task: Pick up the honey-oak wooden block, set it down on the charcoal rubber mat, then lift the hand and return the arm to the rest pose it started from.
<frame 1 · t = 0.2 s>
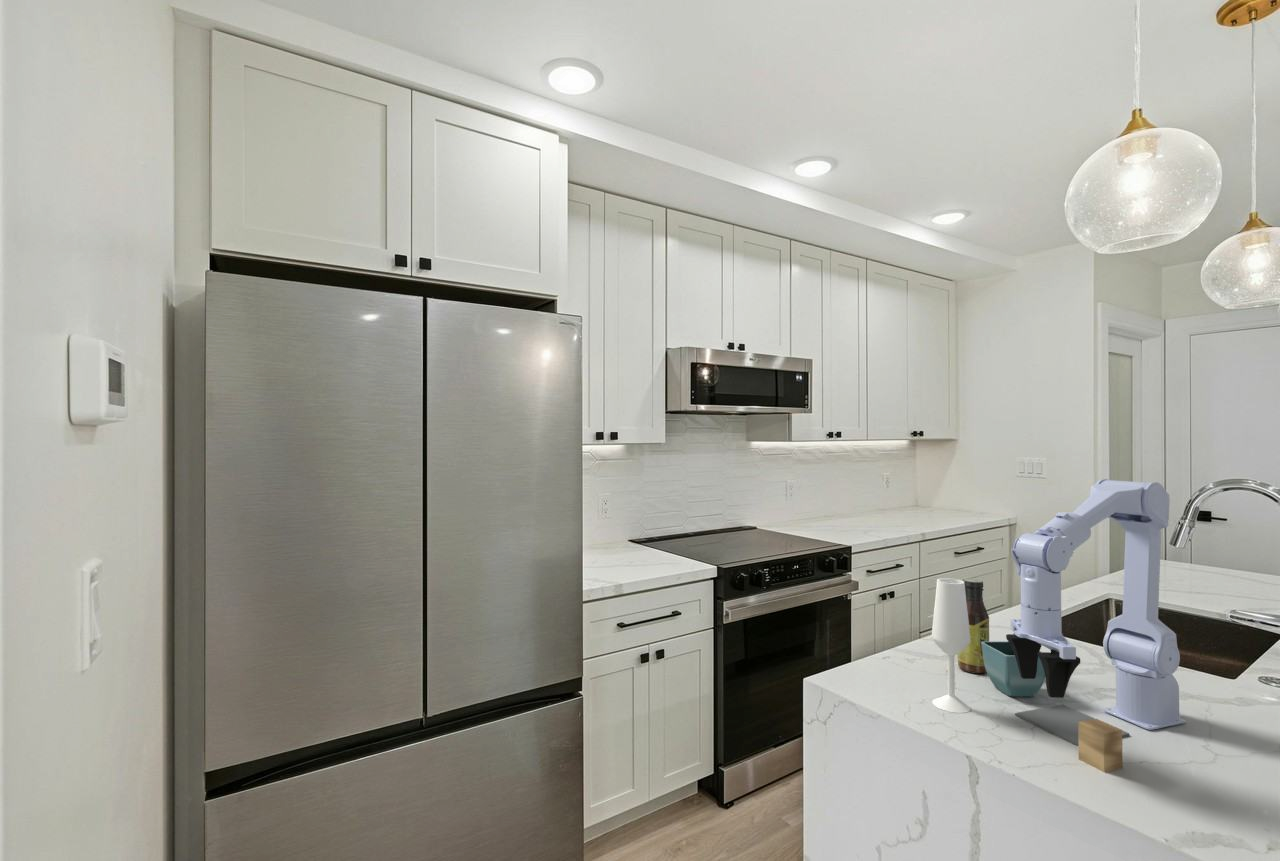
hand: (1041, 687, 102), 10 cm above the counter, tool pointing down, fingers open, 7 cm apart
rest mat: (1070, 725, 110), on the counter
oak block: (1100, 763, 97), on the counter
sauce bottle: (973, 670, 136), on the counter
champagne flute: (951, 706, 118), on the counter
flower pot: (1014, 693, 124), on the counter
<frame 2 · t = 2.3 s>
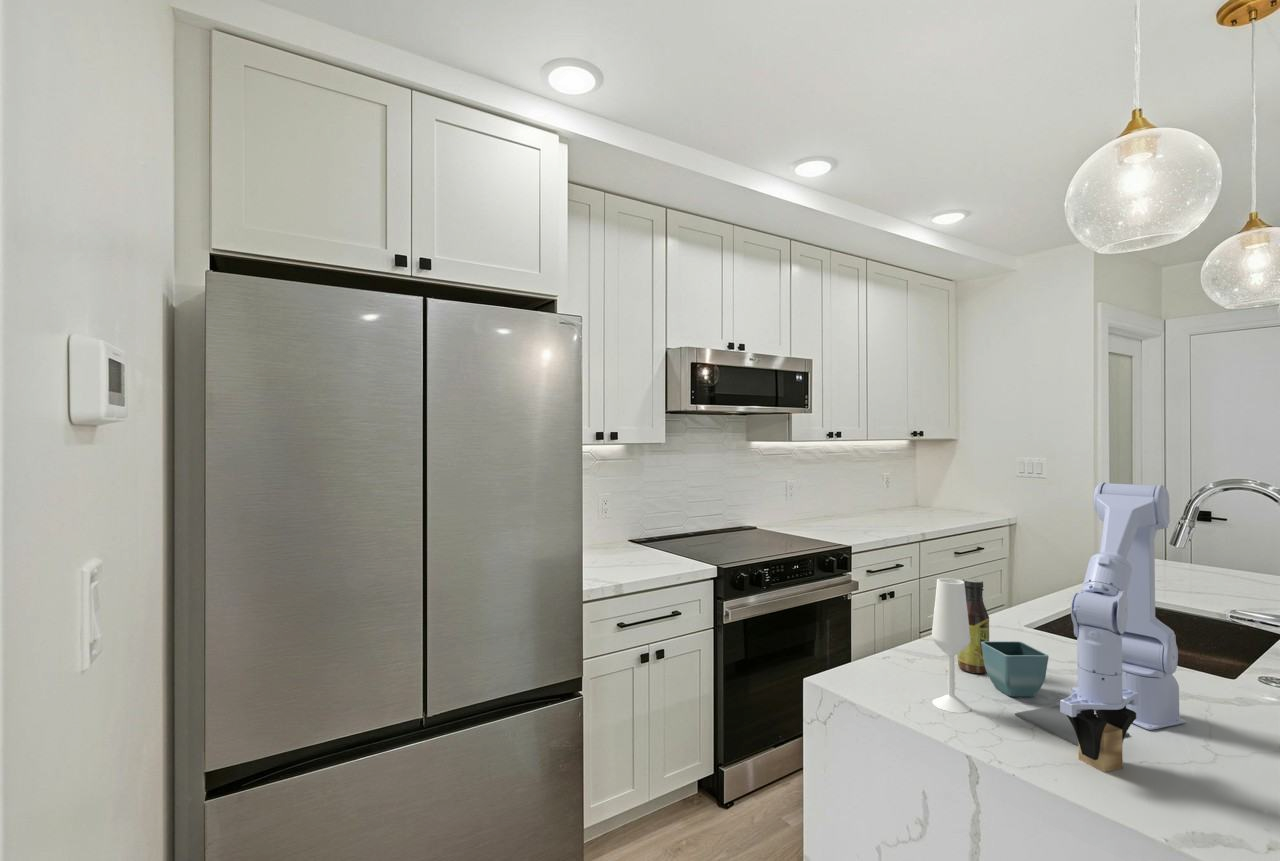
hand: (1100, 754, 97), 1 cm above the counter, tool pointing down, fingers closed on oak block, 4 cm apart
oak block: (1100, 763, 97), on the counter, touching gripper
everything else where it was.
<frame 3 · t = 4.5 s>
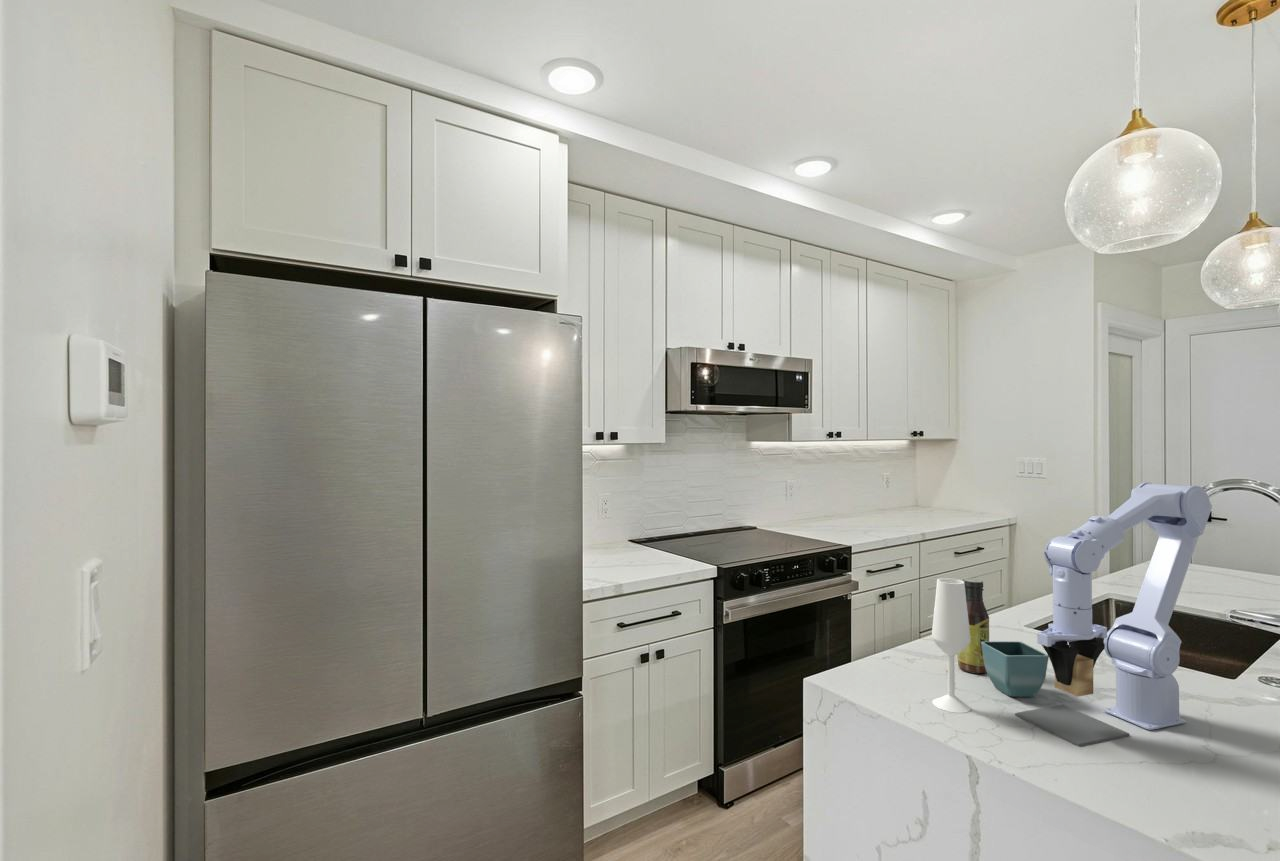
hand: (1073, 681, 108), 8 cm above the counter, tool pointing down, fingers closed on oak block, 4 cm apart
oak block: (1073, 690, 108), point 7 cm above the counter, touching gripper
everything else where it was.
when the fingers open (3 cm above the counter, at t = 6.5 s): oak block stays where it is, resting on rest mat.
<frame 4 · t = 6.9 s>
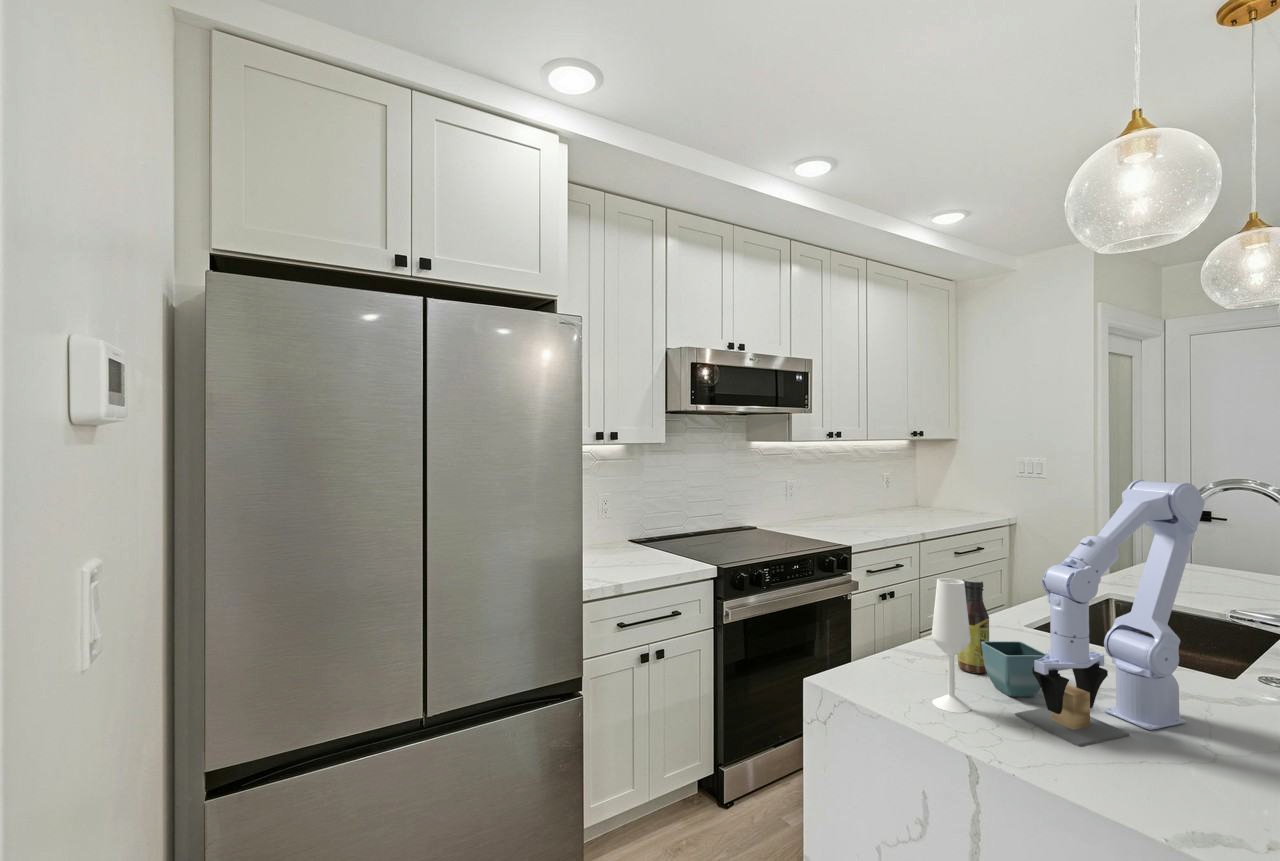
hand: (1070, 708, 110), 3 cm above the counter, tool pointing down, fingers open, 7 cm apart
oak block: (1070, 723, 110), resting on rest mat
everything else where it was.
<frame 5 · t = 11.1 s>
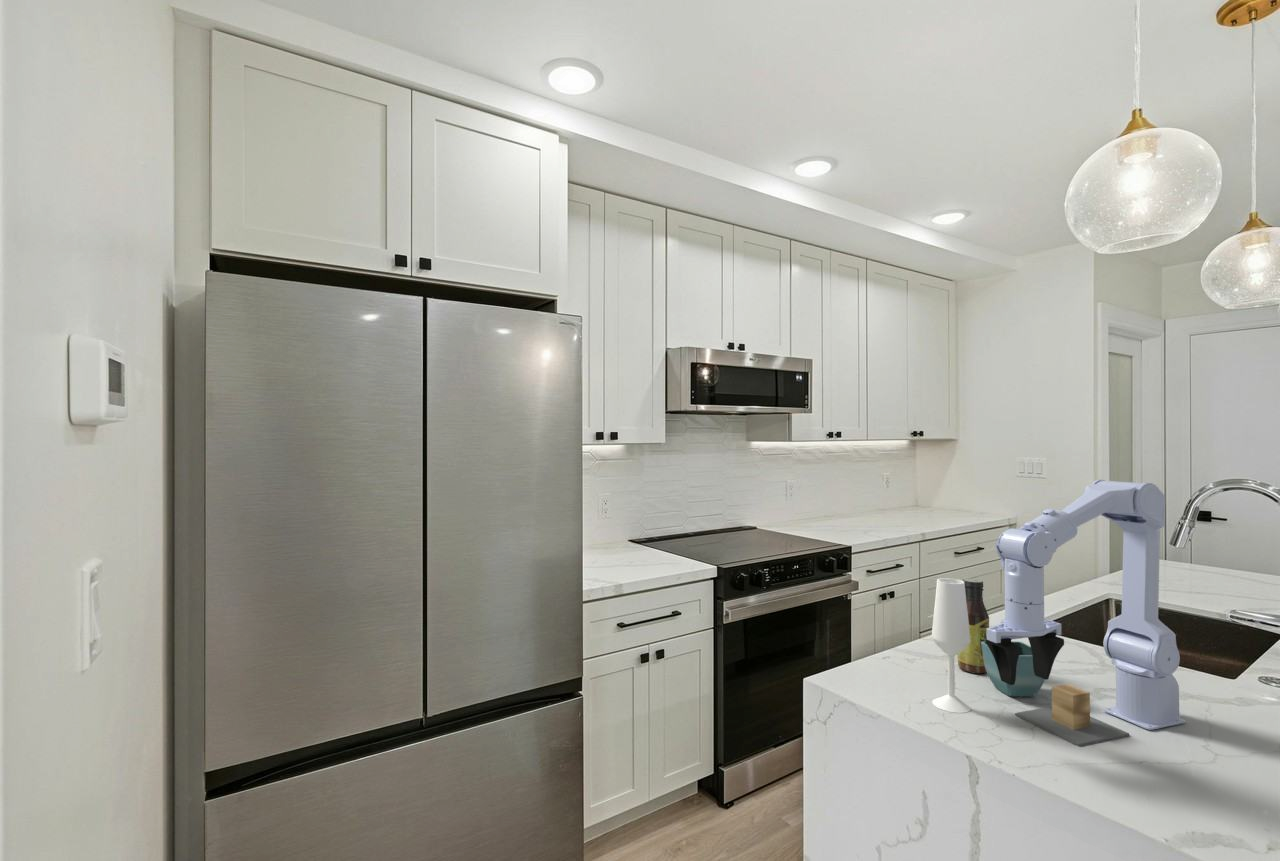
hand: (1024, 680, 104), 10 cm above the counter, tool pointing down, fingers open, 7 cm apart
nothing on the counter moved.
at the end: oak block inside the target area on the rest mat (0.1 cm from its centre), point 0.4 cm above the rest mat's base; oak block tilted 0°; the gripper is holding nothing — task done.
